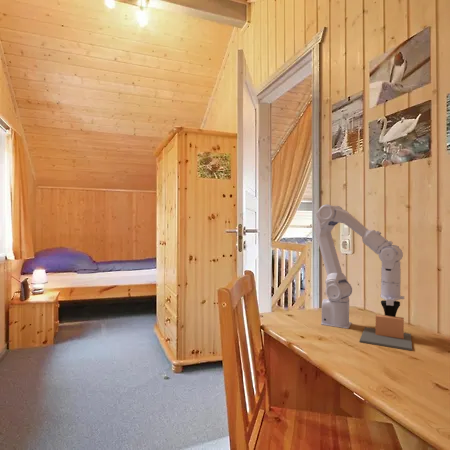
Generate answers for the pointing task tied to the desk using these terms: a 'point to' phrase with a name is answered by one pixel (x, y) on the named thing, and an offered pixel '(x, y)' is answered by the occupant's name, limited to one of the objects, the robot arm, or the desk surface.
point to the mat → (386, 339)
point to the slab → (390, 326)
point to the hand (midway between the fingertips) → (390, 323)
